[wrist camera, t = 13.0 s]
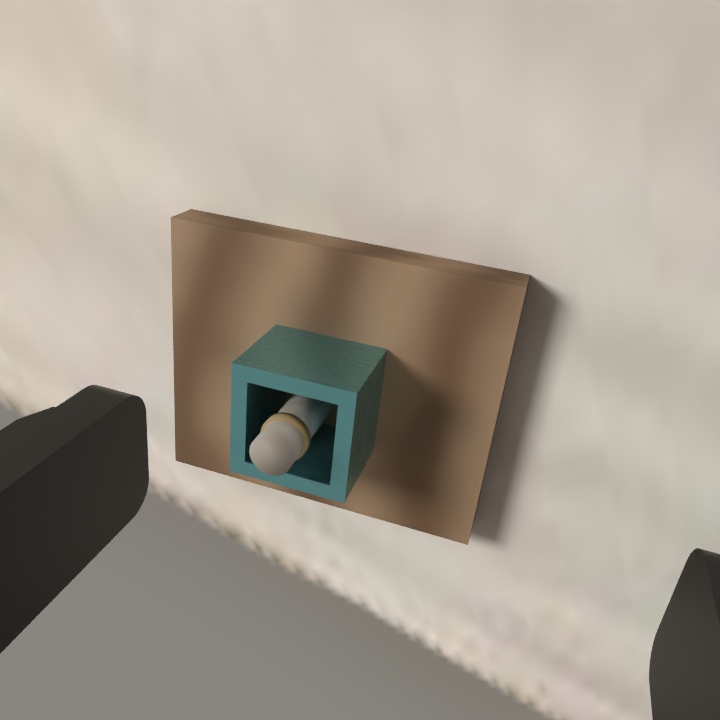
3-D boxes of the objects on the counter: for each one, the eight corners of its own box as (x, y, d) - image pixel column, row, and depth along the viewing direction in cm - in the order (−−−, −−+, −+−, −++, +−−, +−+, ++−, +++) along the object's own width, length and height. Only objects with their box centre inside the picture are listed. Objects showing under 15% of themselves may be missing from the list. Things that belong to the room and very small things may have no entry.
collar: (387, 349, 34) (357, 393, 29) (373, 449, 36) (344, 503, 32) (276, 324, 35) (231, 362, 31) (271, 422, 38) (229, 471, 33)
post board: (530, 275, 32) (510, 347, 24) (473, 522, 39) (443, 641, 31) (191, 209, 36) (80, 253, 28) (192, 443, 43) (103, 531, 35)
